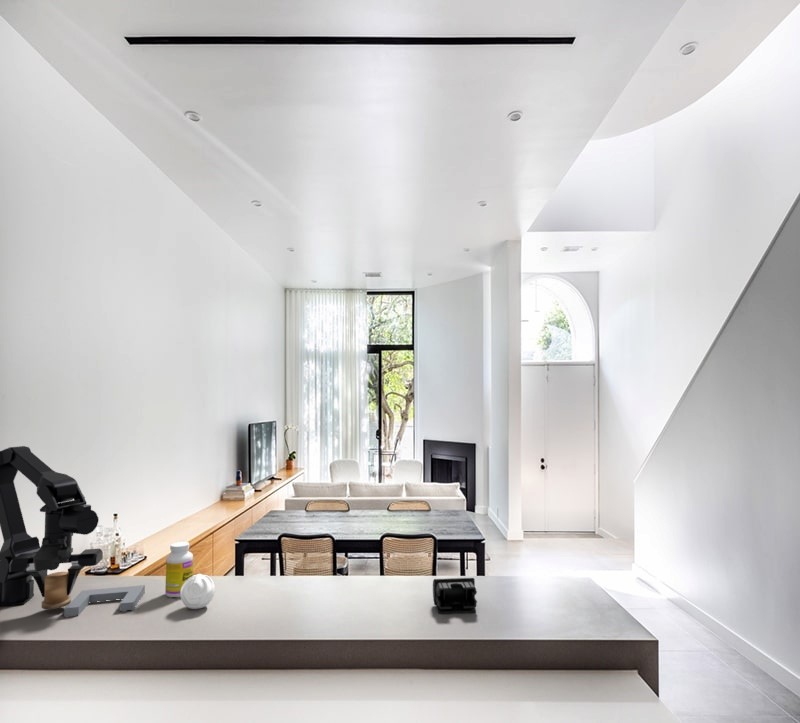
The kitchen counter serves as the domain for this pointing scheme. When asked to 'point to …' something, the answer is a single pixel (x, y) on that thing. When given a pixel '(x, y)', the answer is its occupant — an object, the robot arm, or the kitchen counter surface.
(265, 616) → the kitchen counter surface
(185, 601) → the white rounded piece
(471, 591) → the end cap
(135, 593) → the notched board
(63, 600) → the wooden drawer knob
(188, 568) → the supplement bottle
